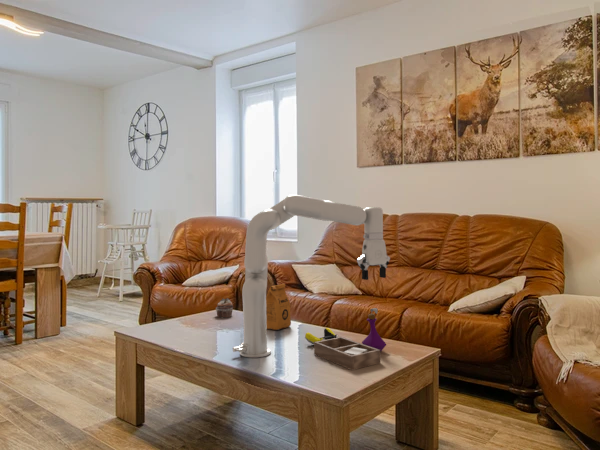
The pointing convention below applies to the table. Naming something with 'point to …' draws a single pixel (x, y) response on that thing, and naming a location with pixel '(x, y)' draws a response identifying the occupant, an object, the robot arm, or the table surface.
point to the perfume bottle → (373, 333)
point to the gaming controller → (327, 335)
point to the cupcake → (224, 308)
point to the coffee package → (277, 308)
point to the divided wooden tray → (336, 353)
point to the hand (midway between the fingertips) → (374, 278)
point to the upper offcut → (355, 351)
